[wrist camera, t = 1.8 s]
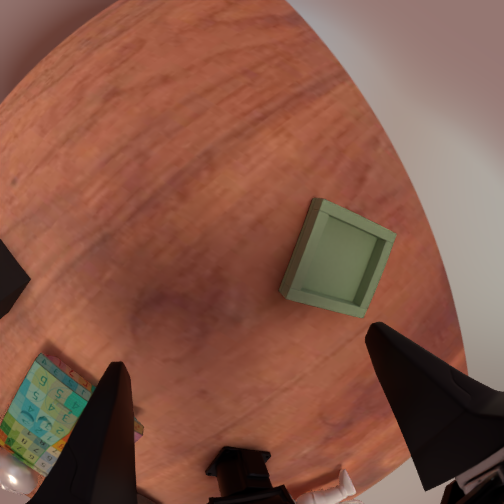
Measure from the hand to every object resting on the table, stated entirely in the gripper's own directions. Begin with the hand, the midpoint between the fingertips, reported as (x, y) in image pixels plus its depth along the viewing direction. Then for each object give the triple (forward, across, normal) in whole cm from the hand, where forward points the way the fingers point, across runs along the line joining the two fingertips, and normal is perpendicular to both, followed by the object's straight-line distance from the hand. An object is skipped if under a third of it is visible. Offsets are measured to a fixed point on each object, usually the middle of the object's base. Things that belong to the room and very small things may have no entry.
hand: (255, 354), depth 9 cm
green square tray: (+13, -11, +6) cm, 18 cm away
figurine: (+4, +35, +32) cm, 47 cm away
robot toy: (0, -10, +42) cm, 43 cm away
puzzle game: (+8, +20, +21) cm, 30 cm away
